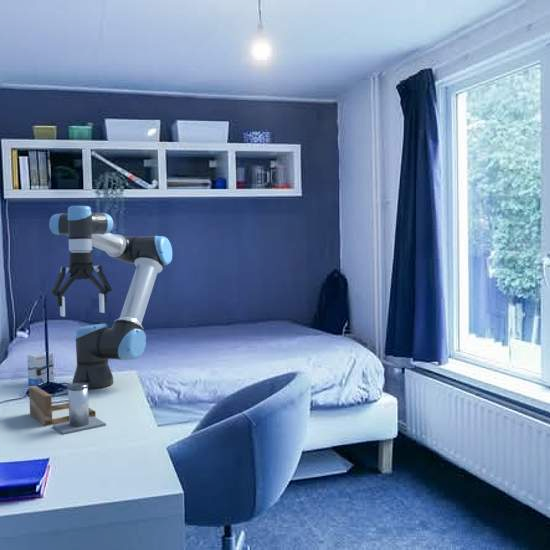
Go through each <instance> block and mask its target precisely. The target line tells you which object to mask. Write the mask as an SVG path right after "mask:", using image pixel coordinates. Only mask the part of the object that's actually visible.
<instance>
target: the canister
mask: <svg viewBox="0 0 550 550" xmlns="http://www.w3.org/2000/svg"><path fill="white" fill-rule="evenodd" d="M67 393H68V396H67V397H68V403H69V408H68V414H69V415H68V416H69V421H68V422H69V424H70V426H71V427H82V426H86V425H88V424H89V418H90V417H89V409H88V407H89V389H88V383H73V382H72V383H70V384H68V385H67Z"/></svg>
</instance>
